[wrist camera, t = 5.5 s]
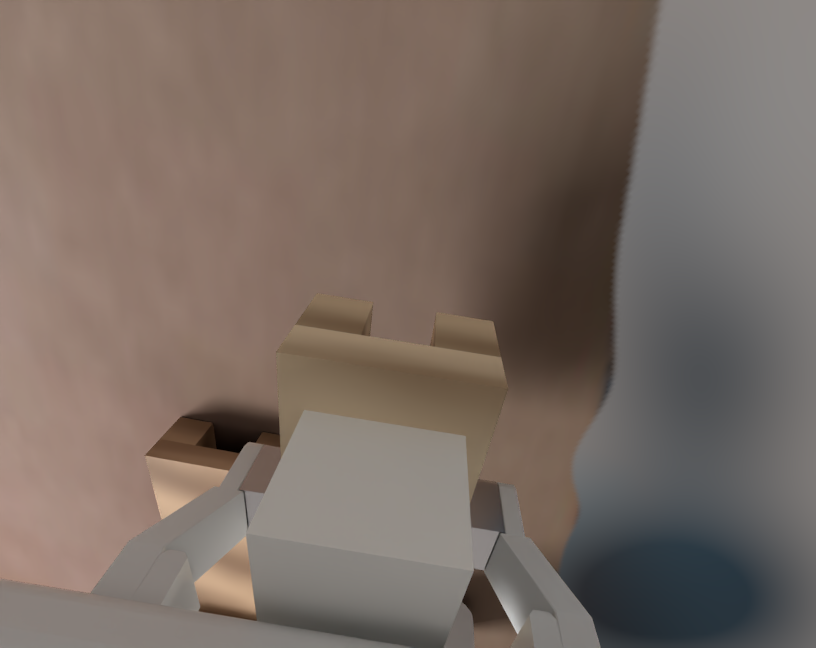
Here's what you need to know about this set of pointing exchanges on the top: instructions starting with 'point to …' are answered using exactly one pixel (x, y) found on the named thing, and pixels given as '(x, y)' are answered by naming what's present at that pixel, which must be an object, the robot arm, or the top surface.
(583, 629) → the robot arm
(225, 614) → the dock
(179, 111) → the top surface
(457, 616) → the can
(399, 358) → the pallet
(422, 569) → the white rectangular block
